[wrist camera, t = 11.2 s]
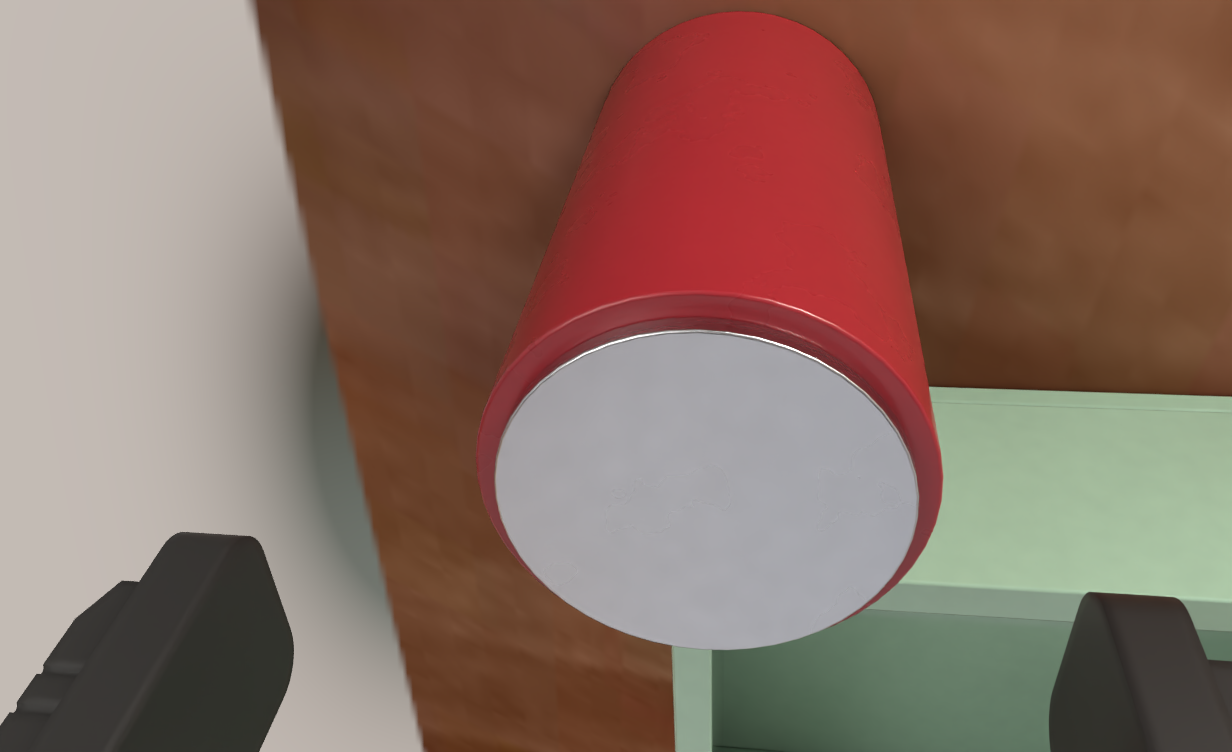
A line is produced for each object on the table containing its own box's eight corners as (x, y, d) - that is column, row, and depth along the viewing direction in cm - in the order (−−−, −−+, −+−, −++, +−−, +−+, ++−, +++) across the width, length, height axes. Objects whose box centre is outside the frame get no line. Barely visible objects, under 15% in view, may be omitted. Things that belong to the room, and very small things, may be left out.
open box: (692, 377, 24) (667, 568, 19) (1436, 401, 22) (1624, 624, 17) (698, 743, 32) (681, 945, 27) (1248, 787, 30) (1339, 1017, 25)
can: (587, 13, 20) (435, 301, 11) (893, 7, 19) (980, 311, 10) (605, 274, 23) (498, 652, 14) (868, 278, 22) (919, 680, 14)
